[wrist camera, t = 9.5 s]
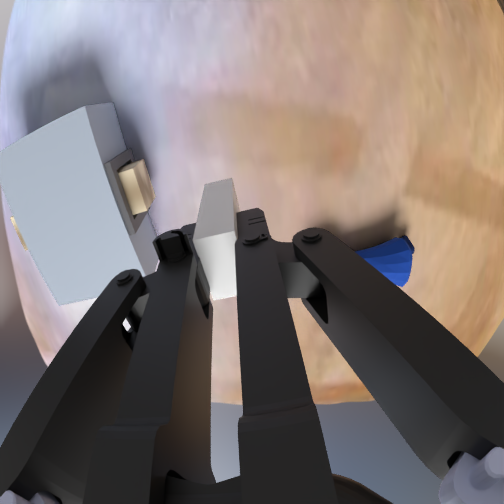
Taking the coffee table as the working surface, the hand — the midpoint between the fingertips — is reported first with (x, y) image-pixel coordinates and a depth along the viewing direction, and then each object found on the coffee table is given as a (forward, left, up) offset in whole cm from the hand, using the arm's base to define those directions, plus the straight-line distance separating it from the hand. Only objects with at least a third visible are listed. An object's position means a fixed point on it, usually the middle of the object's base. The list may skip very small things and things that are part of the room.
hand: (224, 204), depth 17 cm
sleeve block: (0, -16, -16) cm, 23 cm away
